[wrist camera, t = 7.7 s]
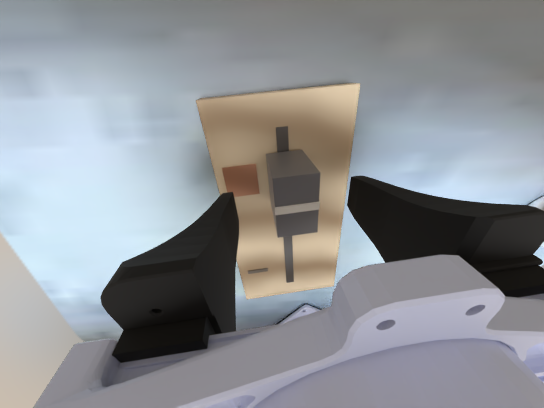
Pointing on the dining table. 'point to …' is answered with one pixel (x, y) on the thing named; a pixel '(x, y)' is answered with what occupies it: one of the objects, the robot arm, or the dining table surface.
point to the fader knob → (293, 192)
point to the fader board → (255, 187)
